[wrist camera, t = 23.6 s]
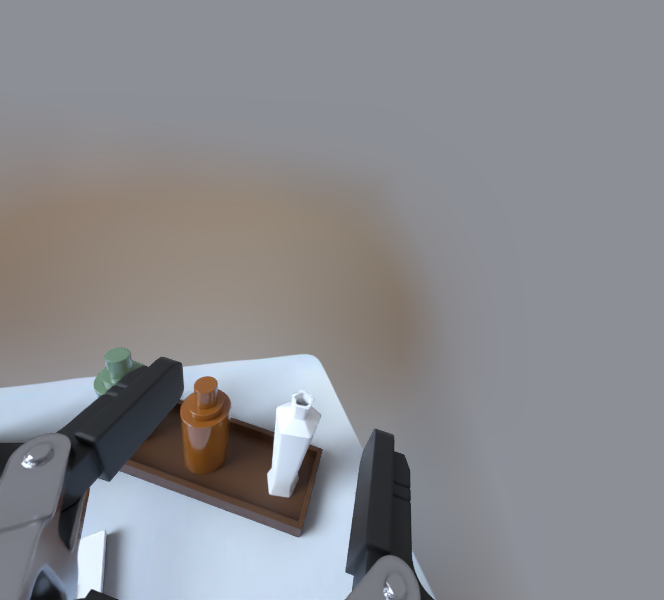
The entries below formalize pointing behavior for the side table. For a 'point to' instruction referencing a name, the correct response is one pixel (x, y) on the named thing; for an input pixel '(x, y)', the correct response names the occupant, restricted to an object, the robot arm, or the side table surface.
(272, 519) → the tray
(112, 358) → the sage bottle
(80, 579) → the photo frame
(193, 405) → the amber bottle
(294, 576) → the side table surface
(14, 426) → the side table surface
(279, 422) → the perfume bottle
